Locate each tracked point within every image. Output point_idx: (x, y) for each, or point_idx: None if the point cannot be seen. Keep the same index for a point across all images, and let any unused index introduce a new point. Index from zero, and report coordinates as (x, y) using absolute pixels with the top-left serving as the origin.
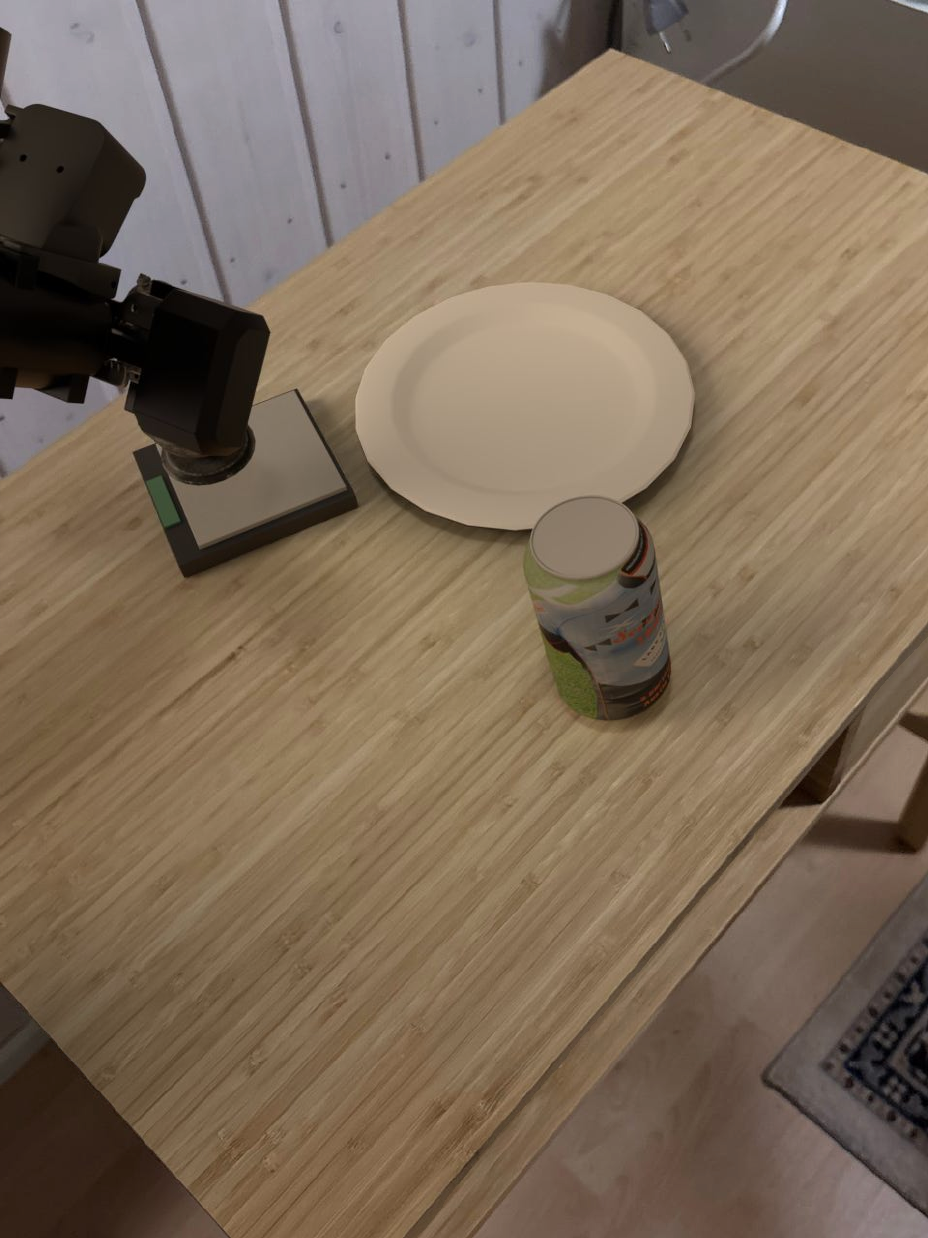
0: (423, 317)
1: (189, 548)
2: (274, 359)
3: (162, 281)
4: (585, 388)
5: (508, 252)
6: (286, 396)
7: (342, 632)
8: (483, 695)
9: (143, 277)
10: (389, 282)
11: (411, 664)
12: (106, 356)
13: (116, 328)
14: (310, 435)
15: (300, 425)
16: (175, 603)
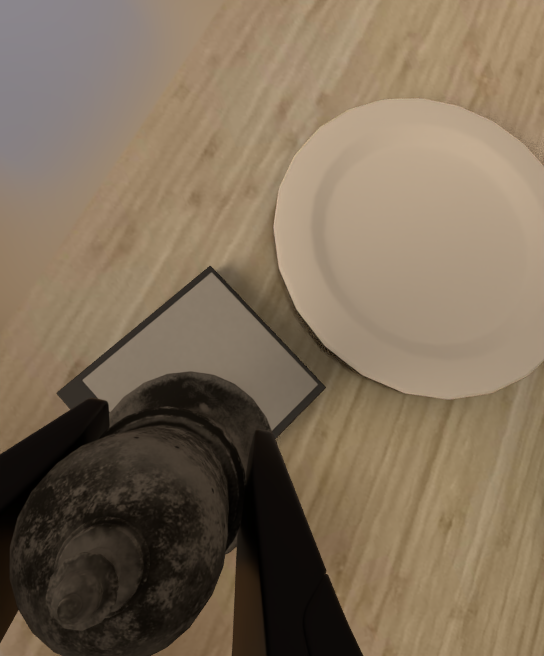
0: (306, 156)
1: None
2: (161, 224)
3: (133, 468)
4: (472, 212)
5: (335, 62)
6: (207, 282)
7: (366, 539)
8: (512, 564)
9: (83, 608)
10: (239, 110)
11: (441, 553)
12: (12, 611)
13: (9, 561)
14: (255, 328)
15: (238, 317)
16: None
